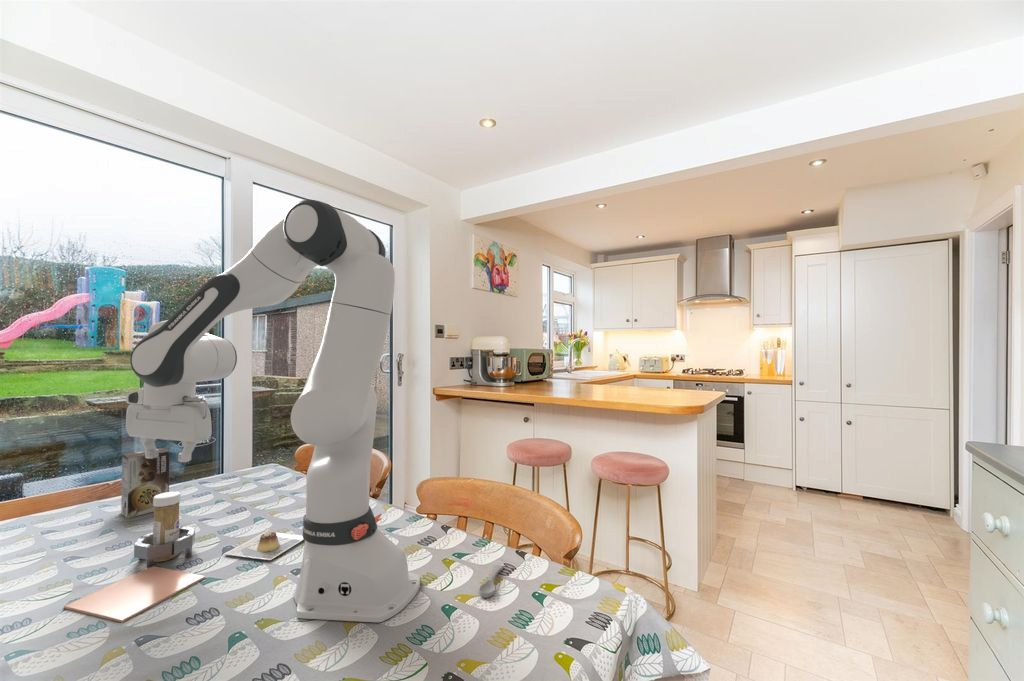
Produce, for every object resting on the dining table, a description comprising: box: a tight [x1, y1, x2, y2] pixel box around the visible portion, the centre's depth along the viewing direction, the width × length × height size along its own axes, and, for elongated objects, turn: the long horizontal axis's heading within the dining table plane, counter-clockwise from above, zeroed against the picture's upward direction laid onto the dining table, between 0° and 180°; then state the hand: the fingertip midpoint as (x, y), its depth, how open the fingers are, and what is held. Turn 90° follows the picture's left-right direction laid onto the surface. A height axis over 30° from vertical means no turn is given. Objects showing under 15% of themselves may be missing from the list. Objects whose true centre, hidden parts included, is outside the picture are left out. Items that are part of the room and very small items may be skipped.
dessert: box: [223, 528, 305, 561], centre depth 96 cm, size 12×12×5 cm
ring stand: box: [133, 525, 196, 569], centre depth 90 cm, size 10×10×4 cm
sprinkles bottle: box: [152, 491, 182, 563], centre depth 91 cm, size 5×5×14 cm
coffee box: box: [120, 447, 171, 519], centre depth 117 cm, size 9×6×16 cm
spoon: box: [478, 564, 504, 599], centre depth 82 cm, size 3×12×2 cm, turn 169°
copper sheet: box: [63, 565, 206, 623], centre depth 77 cm, size 14×14×1 cm
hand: (168, 459), depth 91 cm, fingers open, 8 cm apart
